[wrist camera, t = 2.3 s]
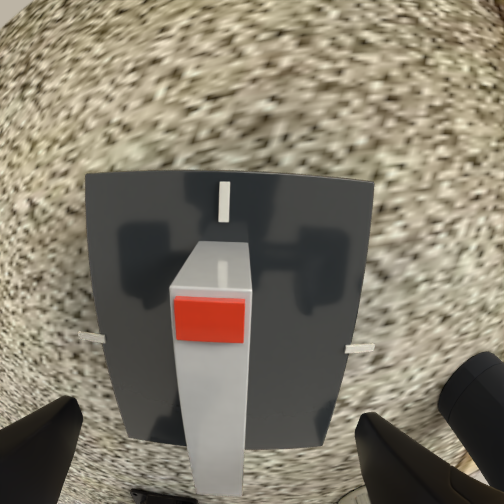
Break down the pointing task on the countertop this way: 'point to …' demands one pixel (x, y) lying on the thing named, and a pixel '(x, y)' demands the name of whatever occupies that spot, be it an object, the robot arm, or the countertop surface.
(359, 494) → the spray can
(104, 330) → the block
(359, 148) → the countertop surface
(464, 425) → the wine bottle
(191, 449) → the knob
